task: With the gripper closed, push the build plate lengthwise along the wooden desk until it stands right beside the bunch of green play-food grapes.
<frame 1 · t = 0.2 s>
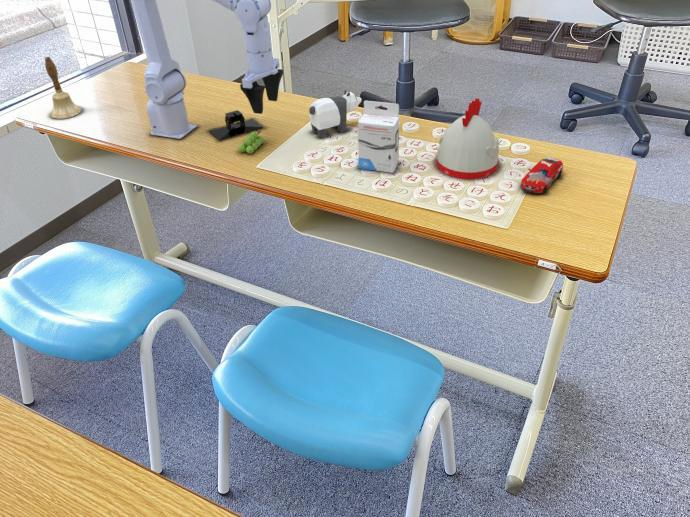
hand: (265, 106, 141), 10 cm above the table, tool pointing down, fingers open, 7 cm apart
build plate: (236, 130, 155), on the table
race car: (541, 182, 128), on the table
grapes: (252, 147, 146), on the table
giant panda: (335, 130, 153), on the table
hand bell: (66, 113, 168), on the table
ink box: (378, 166, 136), on the table
white and red dome: (466, 164, 136), on the table
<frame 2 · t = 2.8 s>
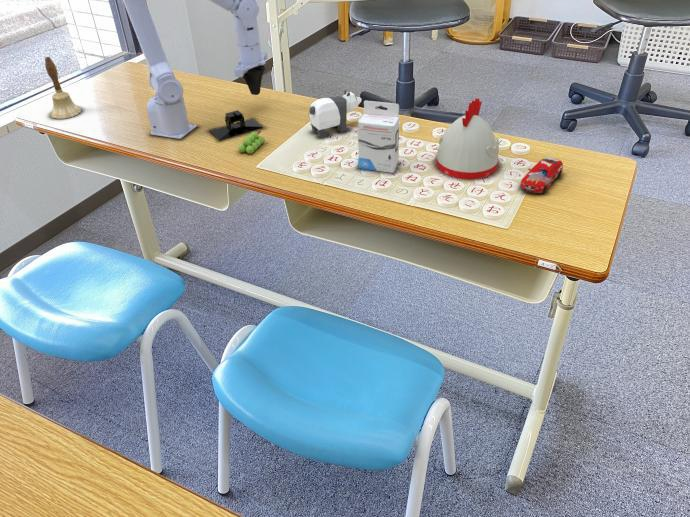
hand: (255, 93, 160), 5 cm above the table, tool pointing down, fingers closed
nothing on the table moved.
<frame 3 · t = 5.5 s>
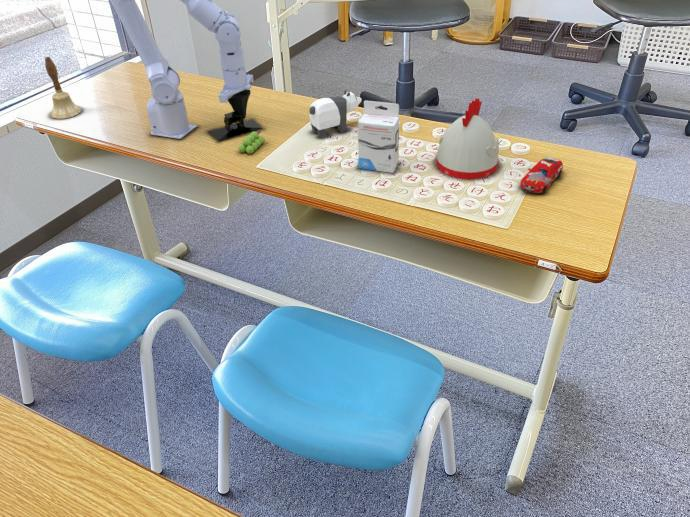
hand: (241, 118, 156), 2 cm above the table, tool pointing down, fingers closed
build plate: (235, 131, 155), on the table, touching gripper
everything else where it was.
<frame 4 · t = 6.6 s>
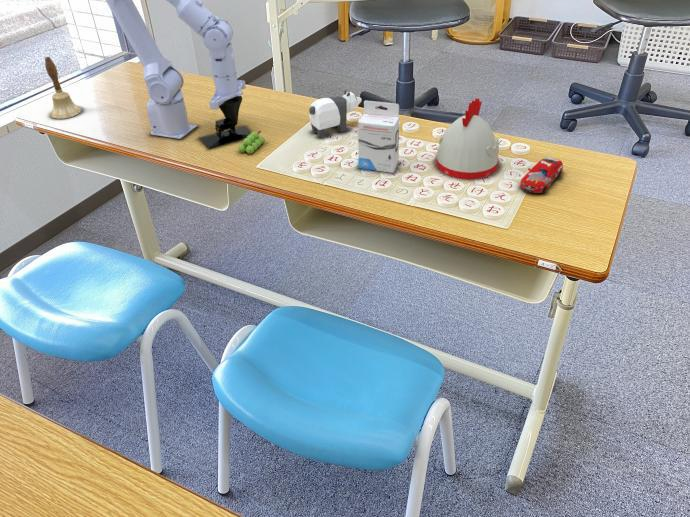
hand: (233, 124, 153), 2 cm above the table, tool pointing down, fingers closed
build plate: (227, 138, 151), on the table, touching gripper
everything else where it was.
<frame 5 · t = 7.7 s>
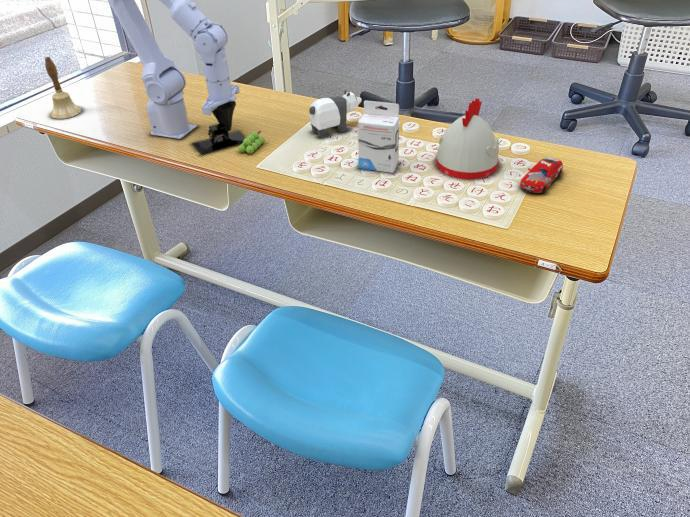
hand: (226, 130, 150), 2 cm above the table, tool pointing down, fingers closed
build plate: (220, 143, 149), on the table, touching gripper
everything else where it was.
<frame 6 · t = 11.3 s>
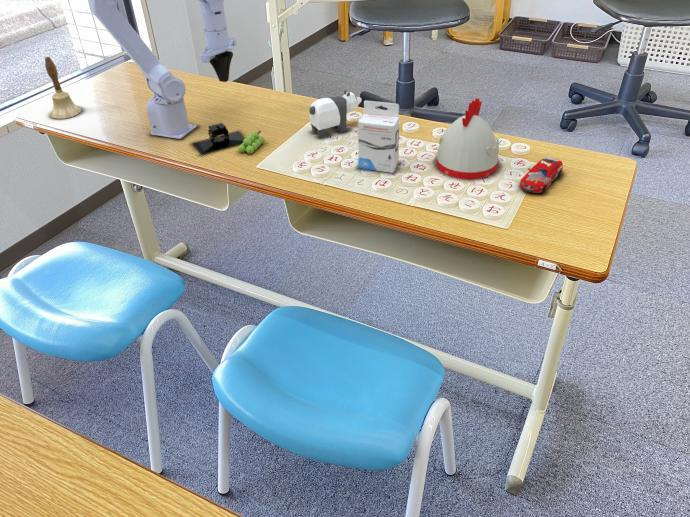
hand: (224, 80, 157), 9 cm above the table, tool pointing down, fingers closed
build plate: (220, 143, 149), on the table
everything else where it was.
at the end: build plate 0.1 cm from the target spot on the table beside the grapes, on the table; build plate moved 8.1 cm from its start; build plate tilted 1° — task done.
